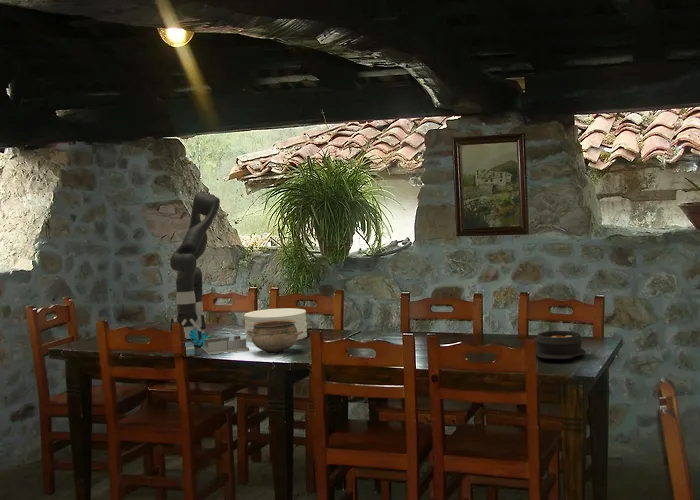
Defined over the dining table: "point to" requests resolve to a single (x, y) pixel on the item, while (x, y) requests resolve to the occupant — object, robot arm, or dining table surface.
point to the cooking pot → (274, 335)
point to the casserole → (559, 345)
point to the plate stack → (277, 314)
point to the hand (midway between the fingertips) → (188, 341)
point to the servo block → (189, 348)
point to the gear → (195, 337)
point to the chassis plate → (224, 345)
